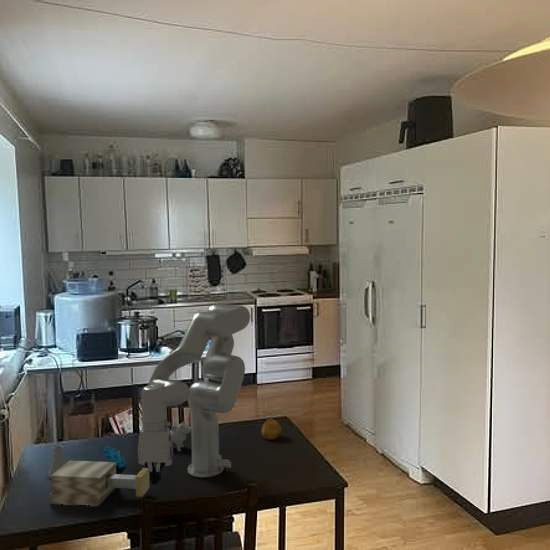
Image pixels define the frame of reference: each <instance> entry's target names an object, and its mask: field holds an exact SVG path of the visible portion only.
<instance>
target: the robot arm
mask: <svg viewBox="0 0 550 550" xmlns="http://www.w3.org/2000/svg"><path fill="white" fill-rule="evenodd" d="M250 321H251V313H250V310H249V309H248V308H247V307H246V306H243V305H235V304H224V303H221V304H219V303H218V304H212V305H211V306H209V307H208V308H207V311H200V312H196V313H195V314H194V315H193V316H192V318H191V319H190V321H189V324H188V325H187V328H186V330H185V332H184V334H183V336H182V339H181V340H180V343H179V344H178V347H177V348H176V349H174V350H173V351H172V352H170V353H169V354H168V355H167V356H166V357H164V358H162V360H161V361H160V362H159V363H158V364H157V365H156V367H155V368H154V370H153V373H152V375H151V377H150V379H149V380H148V384H147V385H146V386H144V387H143V388H142V389H141V419H142V420H141V424H142V427H141V429H140V431H139V435H138V436H139V437H138V446H137V459H138V461H137V462H138V463H137V464H139V465H142V466H145V468H148V470H149V481H151V485H158V484H159V482H160V481H162V469H163V468H164V467H168V466H171V465H172V464H173V458H172V457H173V456H174V450H173V448H174V446H173V442H172V438H171V432H170V431H171V429H170V427H172V422H171V421H169V420H168V417H167V416H168V415H167V414H168V413H167V407H173V406H179V405H181V404H183V403H185V402H188V408H189V411H190V425H191V426H190V427H191V431H190V433H191V437H190V438H191V463H190V464H189V465H188V467H187V474H189V475H191V476H192V477H196V478H211V477H216V476H218V475H220V474H221V473H222V472H224V468H228V469H230V468H232V462H231V461H230V460H229V459H223V458H222V454H220V446H219V445H220V438H219V435H220V434H219V429H220V426H219V418H218V414H217V413H220V414H228V413H229V412H231V411H232V410H233V408H234V407H235V405H236V402H237V399H238V396H239V394H240V390H241V387H242V384H243V382H244V381H243V380H244V378H245V373H246V365H245V361H244V360H243V359H242V357H240V356H238V355H234V354H233V351H234V346H235V341H234V336H233V335H234V334H237V333H239V332H241V331H242V330H244V329H245V328H247V326H249V324H250ZM210 339H211V341H210ZM209 341H210V343H209ZM208 344H209V347H208V348H207V352H206V355H205V358H204V361H203V363H202V366H201V373H202V375H203V377H205V378H206V379H209V380H212V381H218V382H221V383H216V382H212V381H203V380H201V381H196V382H193V383H192V384H191V385H190V387H189V386H188V385H187V384H186V383H185V382H183V381H180V380H174V379H170V378H171V376H172V375H173V374H174V373H175V372H176V371H177V370H179V369H181V368H182V367H185V366H188V365H190V364H193V363H195V362H197V361H199V360H200V359H202V356H203V354H204V352H205V350H206V347H207V345H208ZM155 464H156V465H155Z"/></svg>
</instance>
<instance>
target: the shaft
mask: <svg viewBox="0 0 550 550" xmlns="http://www.w3.org/2000/svg"><path fill="white" fill-rule="evenodd" d="M106 487H110V488H116V489H131V490H132V489H133V490H134V489H135V497H137V498H143V496H144V495H145V494H146V493H147V492H148V491H149V489H150V472H149V470H148V468H147V467H142V468H141V470H140V471H139V472H138V473H137V475H136V474H119V473H118V474H117V473H116V474H108V475H107V476H106Z"/></svg>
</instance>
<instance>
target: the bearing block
mask: <svg viewBox="0 0 550 550" xmlns="http://www.w3.org/2000/svg"><path fill="white" fill-rule="evenodd" d="M108 474H117V466H116V462H108V461H95V460H94V461H90V460H89V461H88V460H69V461H67V462H66V464H65V465H64V466H62V467H61V468H60V469H59V470H57V471H56V472H55V473H54V474H52V475H51V479H50V489H51V490H50V493H49V505H61V504H63V505H62V506H78V505H87V506H86V507H97V506H99V505H100V504H101V503H102V502H103V501H104V500H105V498H106V497H107V496H108V495H109V494H110V493H111V492H112V491H113V490H114V489H115V488H110V487H106V476H107V475H108ZM115 490H116V489H115ZM115 490H114V491H115ZM114 491H113V492H114ZM113 492H112V493H113ZM112 493H111V494H112ZM111 494H110V495H111ZM110 495H109V496H110ZM109 496H108V497H109ZM108 497H107V498H108ZM107 498H106V499H107ZM105 501H106V500H105ZM105 501H104V502H105ZM104 502H103V503H104ZM103 503H102V504H103ZM102 504H101V505H102ZM88 505H90V506H88ZM101 505H100V506H101ZM100 506H99V507H100Z"/></svg>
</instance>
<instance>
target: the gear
mask: <svg viewBox="0 0 550 550" xmlns="http://www.w3.org/2000/svg"><path fill="white" fill-rule="evenodd" d="M102 452H103V453H104V457H105V458H108V461H107V462H116V467H118V468H119V469H122V468H123V467H124V468H125V467H126V461H125V458H124V457H123V456H121V451H120V450H117V451H116V449H115V448H114V447H111V446H109V445H108V446H107V445H105V446H104V447H103V451H102ZM124 468H123V469H124Z"/></svg>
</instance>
